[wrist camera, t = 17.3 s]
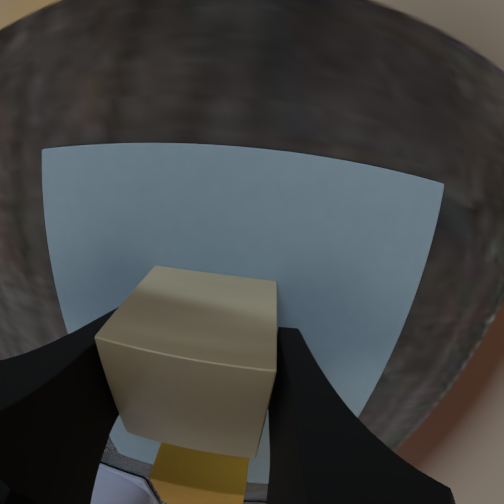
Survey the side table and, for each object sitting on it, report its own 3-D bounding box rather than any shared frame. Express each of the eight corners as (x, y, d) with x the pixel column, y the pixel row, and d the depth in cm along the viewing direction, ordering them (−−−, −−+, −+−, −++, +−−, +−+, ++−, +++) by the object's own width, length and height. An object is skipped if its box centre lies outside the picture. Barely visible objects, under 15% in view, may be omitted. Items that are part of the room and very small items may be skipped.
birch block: (262, 371, 10) (255, 459, 7) (162, 355, 11) (126, 432, 7) (277, 280, 9) (277, 371, 5) (155, 264, 9) (93, 336, 5)
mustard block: (245, 459, 13) (239, 516, 10) (178, 447, 14) (162, 502, 10) (252, 425, 12) (245, 496, 8) (171, 412, 12) (148, 477, 8)
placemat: (311, 479, 15) (311, 484, 15) (121, 449, 16) (119, 454, 15) (437, 181, 8) (445, 184, 7) (49, 148, 8) (41, 149, 8)
